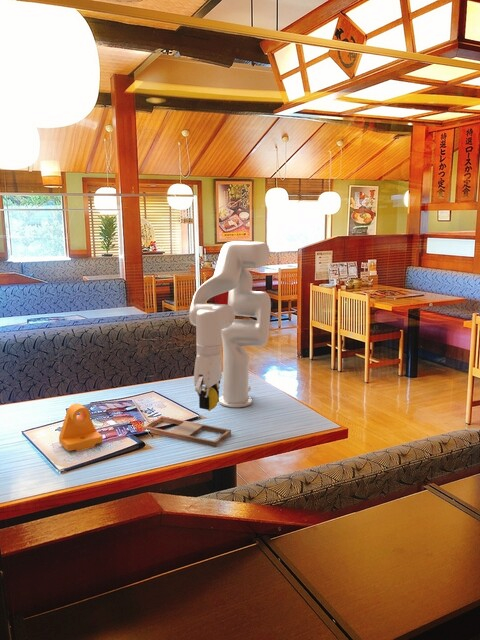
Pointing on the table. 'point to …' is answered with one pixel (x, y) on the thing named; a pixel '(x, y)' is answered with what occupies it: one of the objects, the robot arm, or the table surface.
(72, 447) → the bracket
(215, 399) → the lemon
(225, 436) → the wooden frame
